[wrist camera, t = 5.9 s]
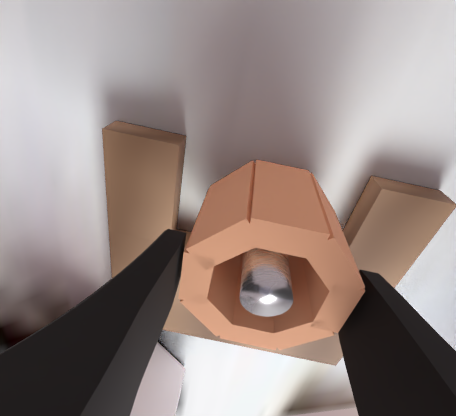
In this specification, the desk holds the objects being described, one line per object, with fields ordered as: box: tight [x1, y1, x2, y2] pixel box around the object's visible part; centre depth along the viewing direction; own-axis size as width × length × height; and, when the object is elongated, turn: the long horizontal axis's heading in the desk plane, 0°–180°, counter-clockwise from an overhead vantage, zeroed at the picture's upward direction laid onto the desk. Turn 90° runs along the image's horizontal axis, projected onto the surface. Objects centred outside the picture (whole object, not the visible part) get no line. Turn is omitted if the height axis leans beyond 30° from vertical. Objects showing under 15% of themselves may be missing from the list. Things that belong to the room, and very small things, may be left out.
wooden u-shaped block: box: [102, 121, 456, 366], centre depth 14 cm, size 14×12×1 cm
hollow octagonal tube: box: [178, 160, 365, 350], centre depth 10 cm, size 5×5×4 cm
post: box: [240, 248, 293, 317], centre depth 11 cm, size 3×3×6 cm
